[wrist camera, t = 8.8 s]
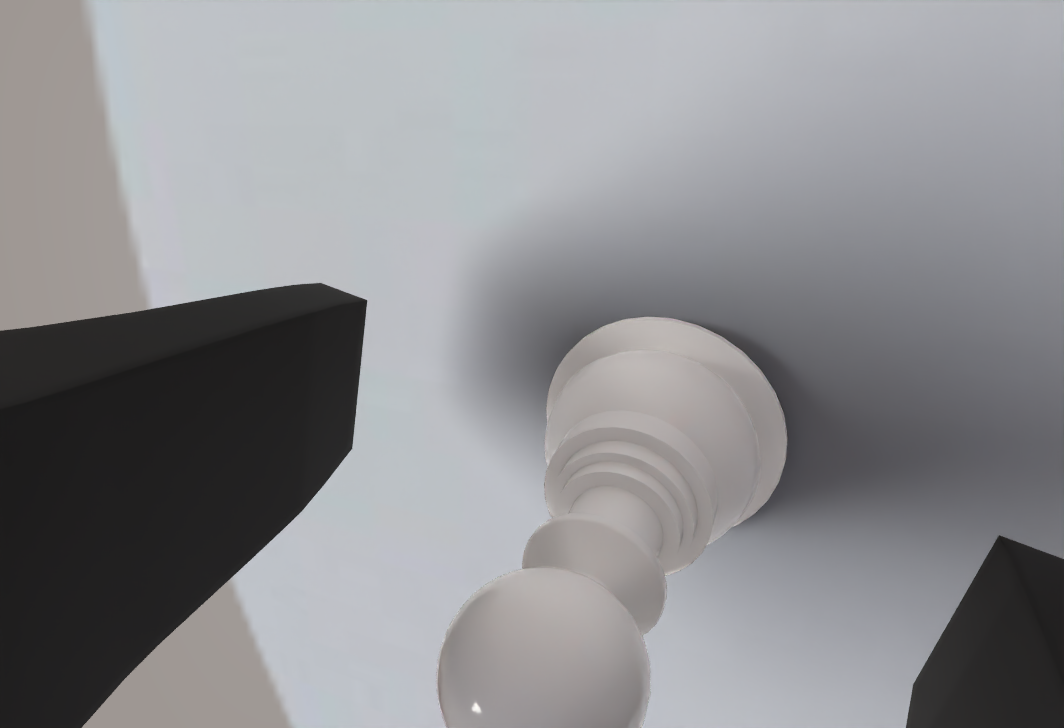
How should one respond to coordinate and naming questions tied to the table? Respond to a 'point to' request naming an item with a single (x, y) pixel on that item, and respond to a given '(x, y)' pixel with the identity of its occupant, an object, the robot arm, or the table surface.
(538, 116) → the table surface
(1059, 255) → the table surface
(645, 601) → the chess pawn
